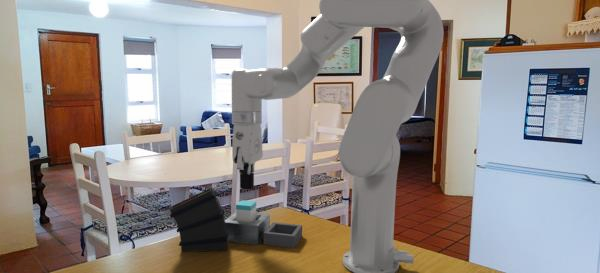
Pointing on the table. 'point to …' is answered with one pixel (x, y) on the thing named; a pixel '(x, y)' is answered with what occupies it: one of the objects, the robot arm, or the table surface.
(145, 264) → the table surface
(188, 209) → the magazine
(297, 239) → the grey square frame
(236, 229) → the port block
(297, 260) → the table surface
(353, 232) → the robot arm
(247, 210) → the plug
